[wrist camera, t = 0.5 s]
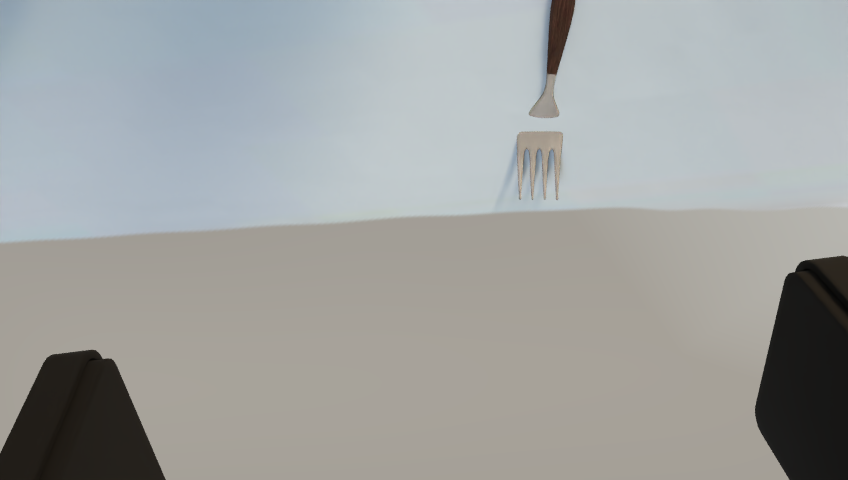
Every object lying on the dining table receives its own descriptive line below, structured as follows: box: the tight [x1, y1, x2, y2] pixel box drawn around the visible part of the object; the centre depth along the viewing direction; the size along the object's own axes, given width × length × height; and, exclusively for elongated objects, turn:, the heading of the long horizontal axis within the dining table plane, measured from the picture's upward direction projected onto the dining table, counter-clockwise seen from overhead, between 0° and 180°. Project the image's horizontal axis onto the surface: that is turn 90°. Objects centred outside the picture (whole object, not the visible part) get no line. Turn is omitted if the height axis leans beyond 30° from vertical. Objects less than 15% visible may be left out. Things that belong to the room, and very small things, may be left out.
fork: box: [517, 0, 575, 200], centre depth 38 cm, size 3×16×2 cm, turn 176°
